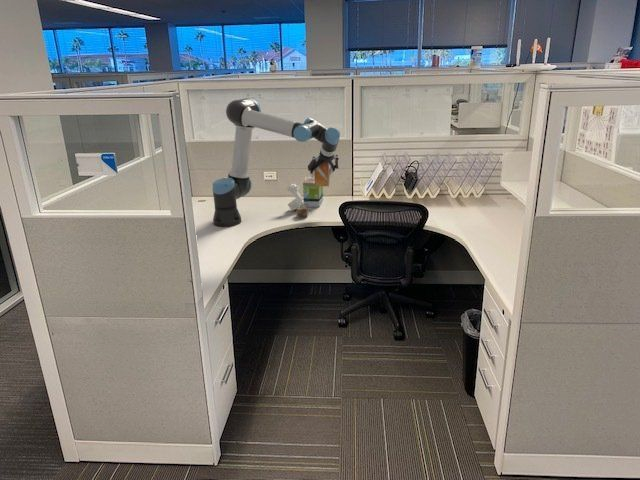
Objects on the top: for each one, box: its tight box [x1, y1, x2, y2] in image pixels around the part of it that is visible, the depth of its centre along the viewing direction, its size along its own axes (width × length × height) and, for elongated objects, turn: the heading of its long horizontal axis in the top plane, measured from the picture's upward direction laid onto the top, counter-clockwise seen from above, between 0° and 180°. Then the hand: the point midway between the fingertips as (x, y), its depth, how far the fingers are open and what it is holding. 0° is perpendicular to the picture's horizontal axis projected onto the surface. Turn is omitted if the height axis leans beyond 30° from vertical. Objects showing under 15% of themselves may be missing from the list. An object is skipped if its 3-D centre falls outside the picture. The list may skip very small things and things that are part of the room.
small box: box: [313, 163, 331, 187], centre depth 259 cm, size 8×6×13 cm
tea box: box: [302, 177, 324, 208], centre depth 284 cm, size 15×10×15 cm, turn 171°
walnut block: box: [296, 205, 308, 219], centre depth 262 cm, size 5×5×5 cm
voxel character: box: [285, 183, 304, 212], centre depth 272 cm, size 7×12×15 cm
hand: (320, 175), depth 262 cm, fingers closed on small box, 9 cm apart
